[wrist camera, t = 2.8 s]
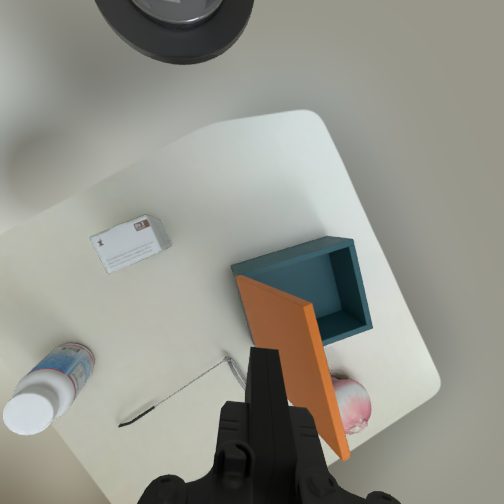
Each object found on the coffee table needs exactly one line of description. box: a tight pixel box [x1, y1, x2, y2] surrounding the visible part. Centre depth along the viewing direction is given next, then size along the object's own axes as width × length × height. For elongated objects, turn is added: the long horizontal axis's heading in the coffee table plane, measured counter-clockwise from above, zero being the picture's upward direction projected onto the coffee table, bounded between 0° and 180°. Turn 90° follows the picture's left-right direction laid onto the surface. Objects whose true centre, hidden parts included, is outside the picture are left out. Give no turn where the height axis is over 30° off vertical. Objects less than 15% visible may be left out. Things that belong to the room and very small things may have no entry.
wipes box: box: [231, 236, 373, 347], centre depth 42 cm, size 16×13×8 cm
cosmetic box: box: [89, 215, 171, 274], centre depth 36 cm, size 6×4×12 cm
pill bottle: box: [3, 343, 94, 435], centre depth 36 cm, size 6×6×11 cm
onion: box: [330, 375, 371, 435], centre depth 46 cm, size 8×8×7 cm
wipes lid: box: [236, 275, 351, 461], centre depth 29 cm, size 16×13×1 cm
